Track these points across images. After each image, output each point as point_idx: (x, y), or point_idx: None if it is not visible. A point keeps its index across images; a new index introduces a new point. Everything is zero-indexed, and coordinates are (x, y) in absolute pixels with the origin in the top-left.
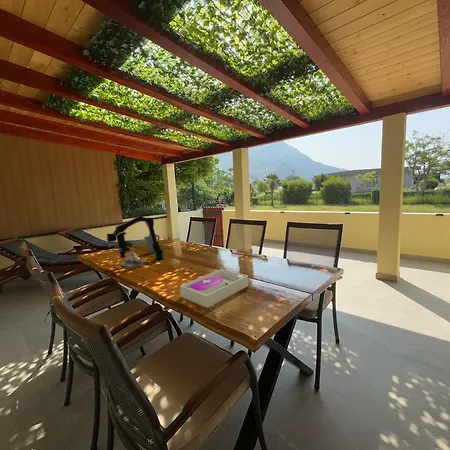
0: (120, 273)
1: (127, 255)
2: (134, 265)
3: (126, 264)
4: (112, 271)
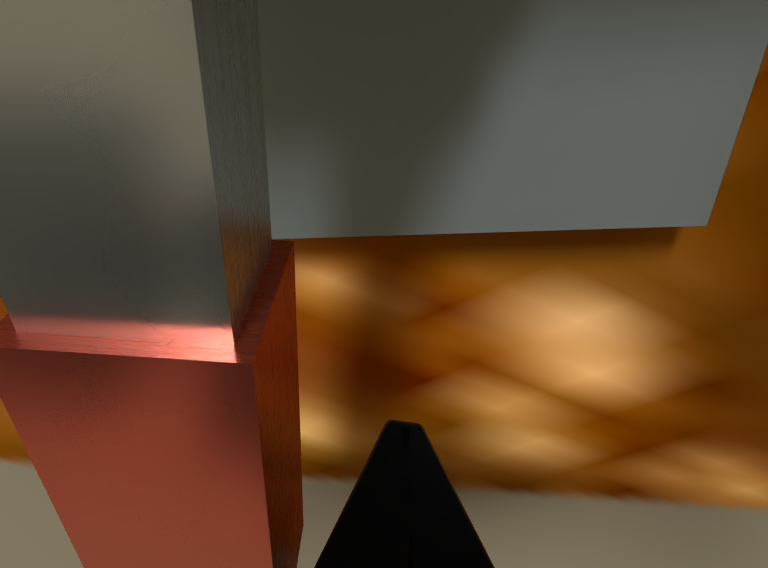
0: (743, 460)
1: (259, 195)
2: (761, 12)
3: (382, 156)
4: (455, 472)
